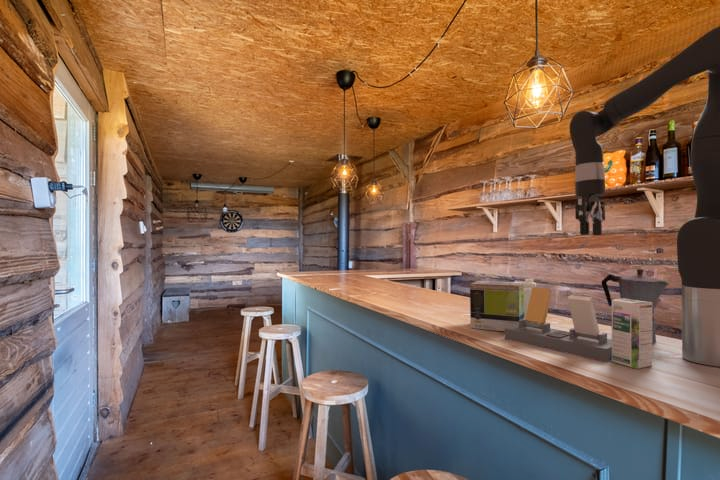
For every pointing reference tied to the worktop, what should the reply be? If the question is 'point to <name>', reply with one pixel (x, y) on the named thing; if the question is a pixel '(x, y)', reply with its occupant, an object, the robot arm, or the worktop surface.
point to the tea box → (496, 304)
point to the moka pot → (637, 290)
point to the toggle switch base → (562, 341)
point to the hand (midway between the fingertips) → (591, 235)
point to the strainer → (527, 293)
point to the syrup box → (632, 333)
